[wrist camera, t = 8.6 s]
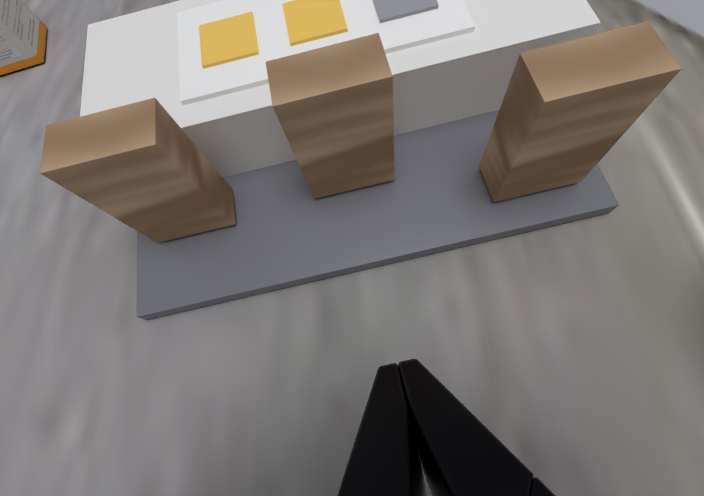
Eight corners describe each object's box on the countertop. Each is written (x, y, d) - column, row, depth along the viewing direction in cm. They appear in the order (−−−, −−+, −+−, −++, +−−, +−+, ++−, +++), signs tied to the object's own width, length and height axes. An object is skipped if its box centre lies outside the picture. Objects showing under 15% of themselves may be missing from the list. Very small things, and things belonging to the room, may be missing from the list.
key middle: (394, 179, 22) (392, 76, 15) (314, 198, 23) (272, 106, 15) (385, 146, 23) (378, 32, 16) (307, 164, 23) (265, 61, 16)
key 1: (580, 181, 21) (681, 68, 13) (493, 202, 21) (544, 102, 14) (562, 145, 22) (647, 21, 14) (479, 166, 22) (520, 53, 15)
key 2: (235, 224, 23) (155, 144, 15) (157, 242, 23) (39, 173, 15) (232, 189, 23) (155, 97, 16) (157, 207, 24) (46, 125, 16)
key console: (609, 212, 21) (692, 144, 15) (147, 319, 22) (54, 295, 16) (501, 3, 28) (529, -102, 22) (147, 94, 29) (81, 17, 23)
